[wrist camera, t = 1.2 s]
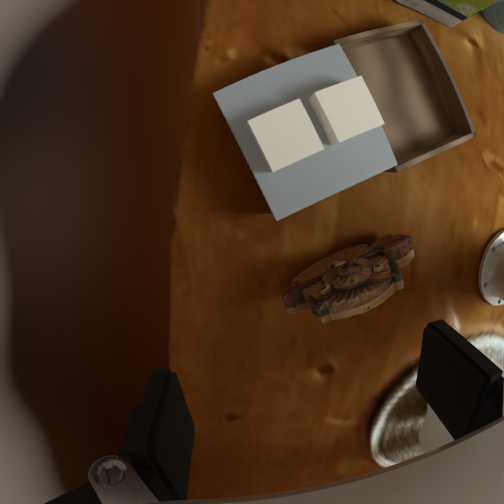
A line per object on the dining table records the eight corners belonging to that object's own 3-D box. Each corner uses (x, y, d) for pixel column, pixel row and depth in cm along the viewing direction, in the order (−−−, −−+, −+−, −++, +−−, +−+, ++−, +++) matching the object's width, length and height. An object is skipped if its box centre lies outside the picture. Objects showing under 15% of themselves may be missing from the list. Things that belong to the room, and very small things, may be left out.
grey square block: (326, 61, 32) (339, 43, 26) (376, 165, 35) (397, 164, 29) (218, 105, 33) (212, 93, 28) (272, 213, 37) (276, 221, 31)
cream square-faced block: (351, 83, 27) (361, 75, 24) (373, 127, 28) (384, 123, 26) (308, 99, 28) (314, 92, 25) (330, 145, 29) (339, 142, 26)
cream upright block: (294, 105, 28) (299, 98, 25) (317, 151, 29) (324, 149, 26) (247, 125, 28) (247, 120, 26) (270, 172, 30) (273, 172, 27)
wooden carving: (388, 215, 37) (429, 229, 27) (400, 246, 38) (441, 269, 28) (272, 277, 39) (279, 313, 29) (288, 308, 40) (300, 349, 30)
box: (407, 31, 31) (422, 19, 26) (457, 137, 34) (476, 136, 30) (324, 53, 32) (333, 40, 27) (381, 171, 35) (397, 172, 31)
